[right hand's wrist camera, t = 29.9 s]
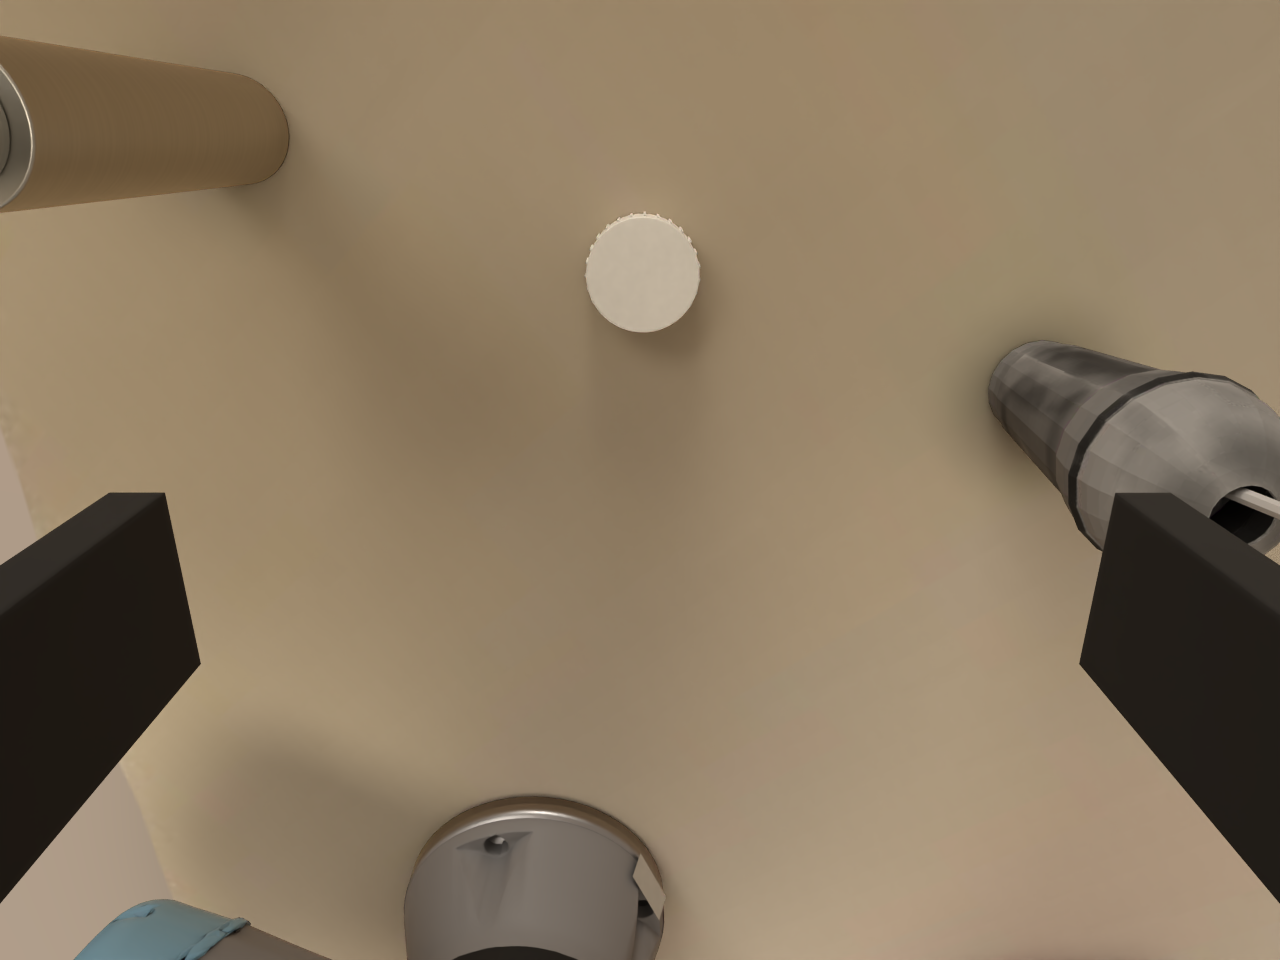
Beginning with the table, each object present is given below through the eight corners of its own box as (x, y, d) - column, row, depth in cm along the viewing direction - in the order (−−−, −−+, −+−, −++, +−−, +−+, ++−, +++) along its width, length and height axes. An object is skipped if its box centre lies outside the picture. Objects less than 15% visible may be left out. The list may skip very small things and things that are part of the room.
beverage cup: (950, 461, 43) (1187, 705, 25) (967, 312, 41) (1246, 459, 22) (1099, 457, 43) (1450, 701, 24) (1126, 308, 40) (1541, 453, 22)
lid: (603, 337, 41) (601, 347, 39) (573, 228, 39) (570, 232, 38) (709, 310, 41) (713, 318, 39) (683, 198, 39) (685, 201, 37)
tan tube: (272, 65, 37) (-64, -2, 19) (301, 176, 39) (15, 207, 21) (170, 81, 37) (-254, 30, 20) (204, 191, 39) (-161, 235, 21)
